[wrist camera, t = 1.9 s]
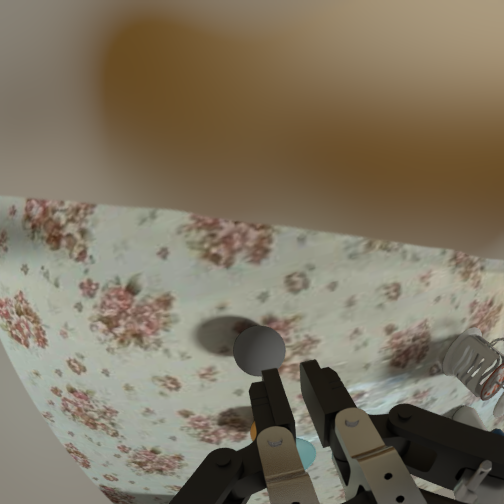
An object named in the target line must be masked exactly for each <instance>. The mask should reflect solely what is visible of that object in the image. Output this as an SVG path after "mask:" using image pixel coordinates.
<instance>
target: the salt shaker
mask: <svg viewBox="0 0 504 504" xmlns="http://www.w3.org/2000/svg"><path fill="white" fill-rule="evenodd" d="M452 419H453V420H455V421H458V422H461V423H464V424H467V425H470V426H473V427H476V428H479V429H482V430H486V431H487V429H486V427H485V425H484V424H483V422H482V420H481V418H480V417H479V415H478V413H477V411H476V410H475V409H474V408H471V407H468V406H463V407H461V408H460V409H459V410H458V411H457V412H456V413H455V414H454V416H453V418H452Z"/></svg>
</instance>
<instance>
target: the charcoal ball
mask: <svg viewBox="0 0 504 504" xmlns="http://www.w3.org/2000/svg"><path fill="white" fill-rule="evenodd" d="M233 353H234V358H235V361H236V363H237V365H238V366H239V367H240V368H241V369H242V370H243V371H244V372H246V373H247V374H250V375H253V376H262V375H261V370H266V369H272V368H277V369H278V368H279V367H280V366H281V364H282V363H283V361H284V358H285V344H284V341H283V339H282V337H281V336H280V335H279V334H278V333H277V332H276V331H275V330H273V329H272V328H269V327H266V326H253V327H250V328H247V329H246V330H244V331H243V332H242V333H241V334H240V335H239V336H238V337H237V339H236V341H235V344H234V349H233Z"/></svg>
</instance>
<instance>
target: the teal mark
mask: <svg viewBox="0 0 504 504" xmlns="http://www.w3.org/2000/svg"><path fill="white" fill-rule="evenodd" d="M296 447H297V450H298V452H299V455H300V458H301V461H302V464H303V467H304V470H306V469H307V468H308V467H309V466H310V465H311V464H312V463H313V461H314V460H315V457H316V450H315V448H314V446H313V445H312V444H311V443H309V442H308V441H305V440H303V439H299V438H296Z"/></svg>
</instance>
